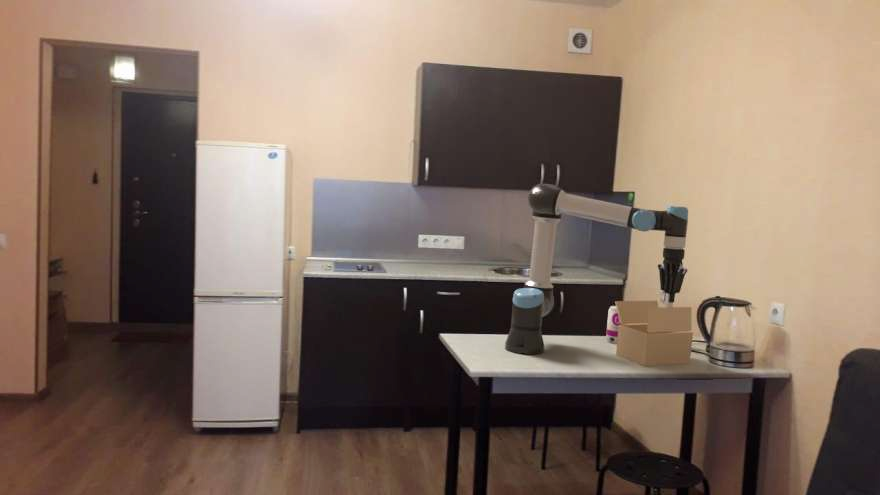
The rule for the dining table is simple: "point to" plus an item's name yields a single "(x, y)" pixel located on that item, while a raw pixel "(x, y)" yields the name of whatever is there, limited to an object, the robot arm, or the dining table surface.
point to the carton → (653, 346)
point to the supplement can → (612, 325)
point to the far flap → (634, 311)
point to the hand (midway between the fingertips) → (668, 310)
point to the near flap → (669, 319)
